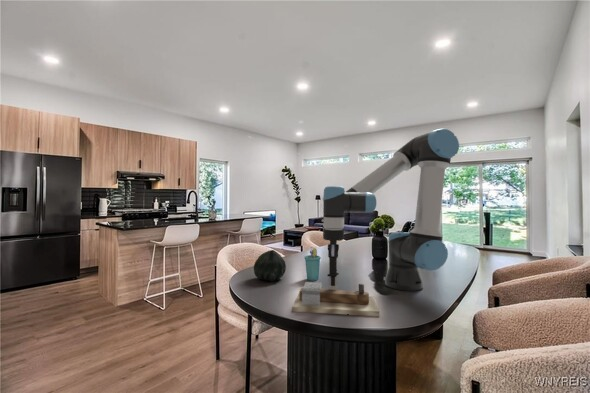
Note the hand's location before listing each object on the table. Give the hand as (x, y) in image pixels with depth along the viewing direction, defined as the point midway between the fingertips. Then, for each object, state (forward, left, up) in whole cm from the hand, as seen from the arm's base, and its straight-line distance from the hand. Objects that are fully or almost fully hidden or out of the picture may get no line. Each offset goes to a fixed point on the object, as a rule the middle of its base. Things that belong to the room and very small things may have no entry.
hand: (332, 293), depth 101 cm
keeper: (+7, +3, -2) cm, 8 cm away
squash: (+30, -27, -3) cm, 40 cm away
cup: (+10, -29, -3) cm, 31 cm away
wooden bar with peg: (0, +3, -1) cm, 3 cm away
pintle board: (-1, +3, -3) cm, 5 cm away
